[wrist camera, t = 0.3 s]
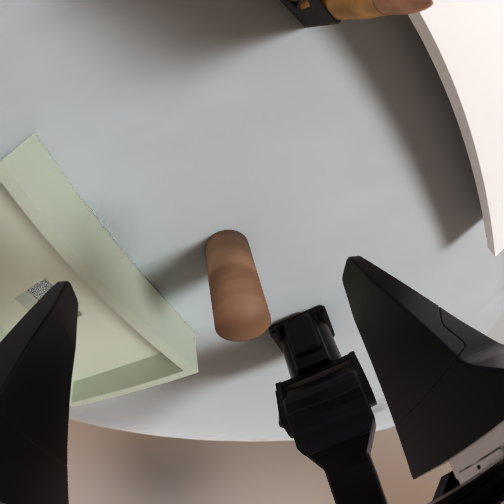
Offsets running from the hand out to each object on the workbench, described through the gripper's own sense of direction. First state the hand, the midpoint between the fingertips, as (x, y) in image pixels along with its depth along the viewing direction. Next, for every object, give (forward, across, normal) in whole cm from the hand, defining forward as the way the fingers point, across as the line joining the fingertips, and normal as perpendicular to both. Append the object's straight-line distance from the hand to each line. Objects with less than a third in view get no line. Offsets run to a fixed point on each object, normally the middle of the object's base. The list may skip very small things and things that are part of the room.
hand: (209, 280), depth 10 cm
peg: (+14, -2, +9) cm, 17 cm away
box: (+14, +15, +12) cm, 23 cm away
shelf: (+14, -24, -6) cm, 29 cm away
